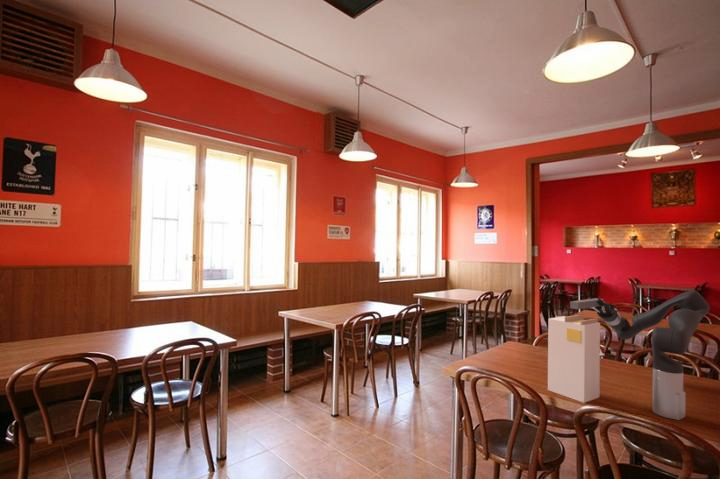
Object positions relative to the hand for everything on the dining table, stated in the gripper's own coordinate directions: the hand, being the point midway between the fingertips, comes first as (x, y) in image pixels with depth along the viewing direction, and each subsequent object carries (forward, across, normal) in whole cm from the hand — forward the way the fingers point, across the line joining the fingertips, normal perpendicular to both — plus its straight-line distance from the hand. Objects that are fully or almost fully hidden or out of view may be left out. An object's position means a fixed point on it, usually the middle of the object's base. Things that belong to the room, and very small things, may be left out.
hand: (593, 299), depth 179 cm
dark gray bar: (+3, 0, -5) cm, 6 cm away
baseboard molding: (-56, +28, -15) cm, 64 cm away
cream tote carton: (-3, -1, -44) cm, 44 cm away
